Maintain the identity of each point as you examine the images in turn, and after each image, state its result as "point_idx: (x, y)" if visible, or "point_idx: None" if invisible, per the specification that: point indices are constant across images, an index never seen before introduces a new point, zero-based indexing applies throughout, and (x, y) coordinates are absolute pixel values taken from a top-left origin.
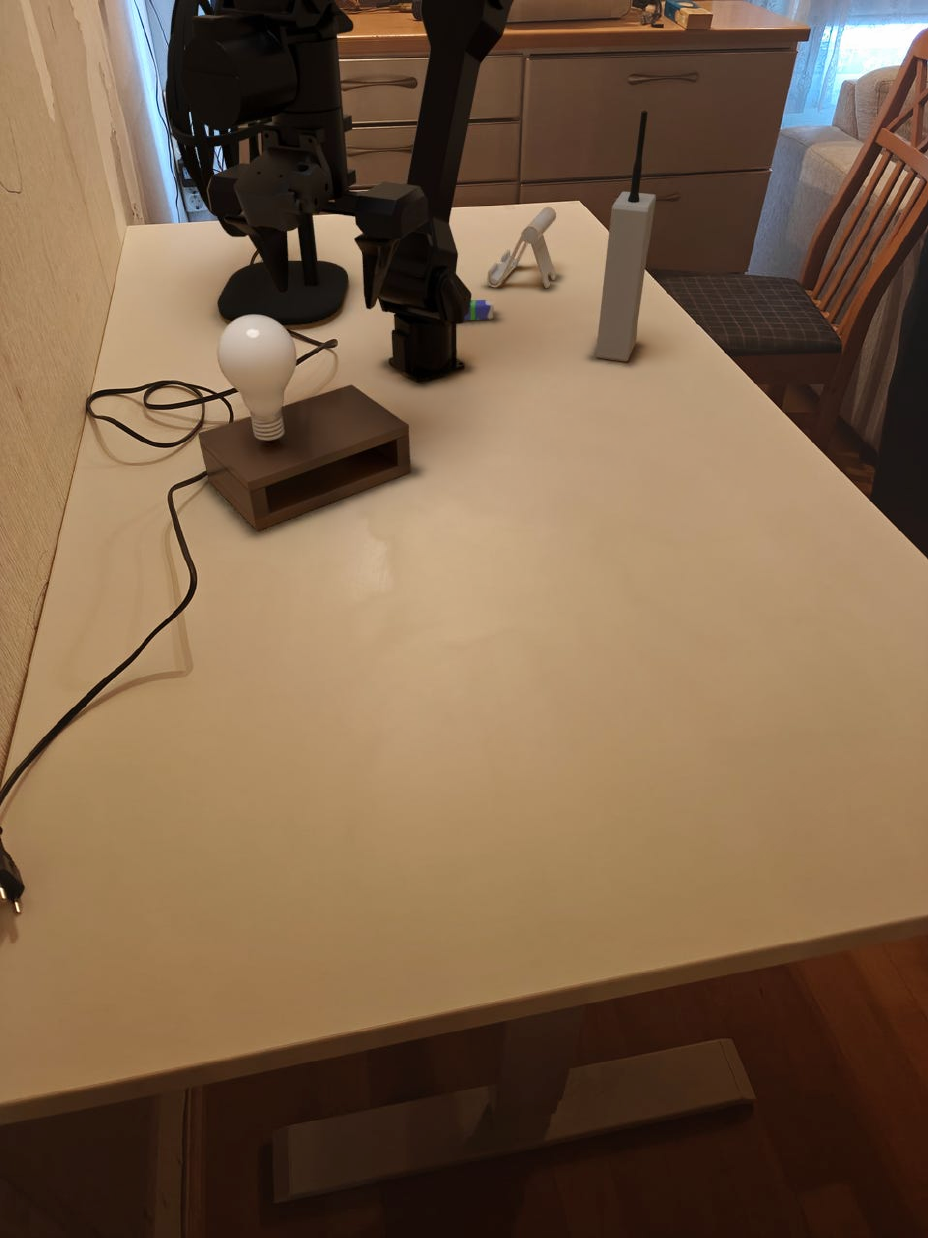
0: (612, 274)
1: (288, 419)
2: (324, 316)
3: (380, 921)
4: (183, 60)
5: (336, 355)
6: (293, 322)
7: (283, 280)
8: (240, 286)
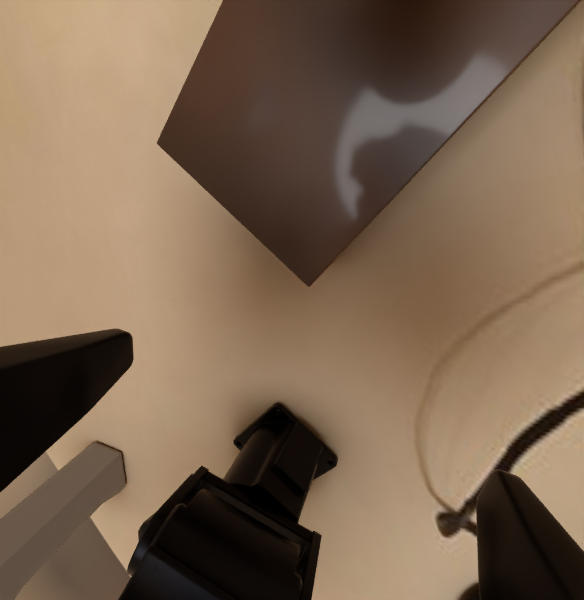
0: (18, 538)
1: (402, 80)
2: (477, 598)
3: None
4: None
5: (429, 489)
6: None
7: (497, 531)
8: None
